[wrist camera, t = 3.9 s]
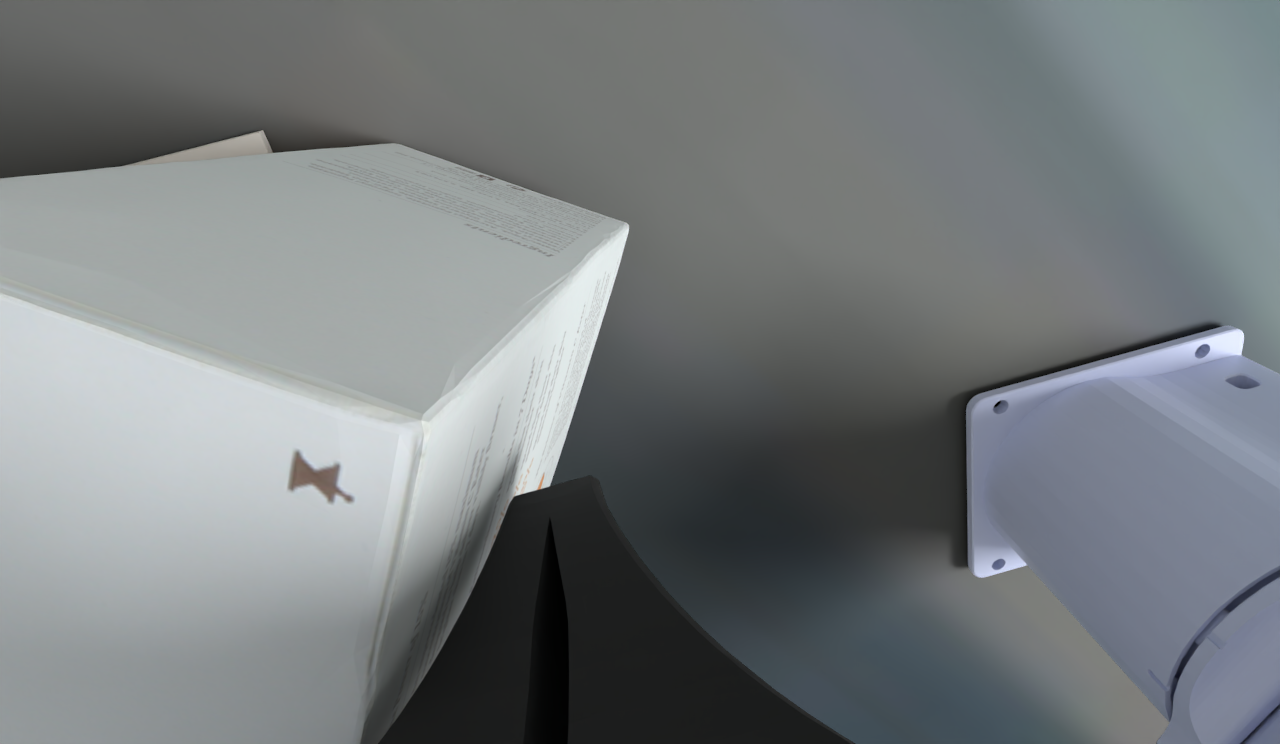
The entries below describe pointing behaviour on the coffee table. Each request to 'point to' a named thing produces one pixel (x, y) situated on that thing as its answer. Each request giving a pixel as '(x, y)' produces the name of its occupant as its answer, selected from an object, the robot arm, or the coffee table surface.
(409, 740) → the robot arm
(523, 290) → the small box
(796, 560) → the coffee table surface
